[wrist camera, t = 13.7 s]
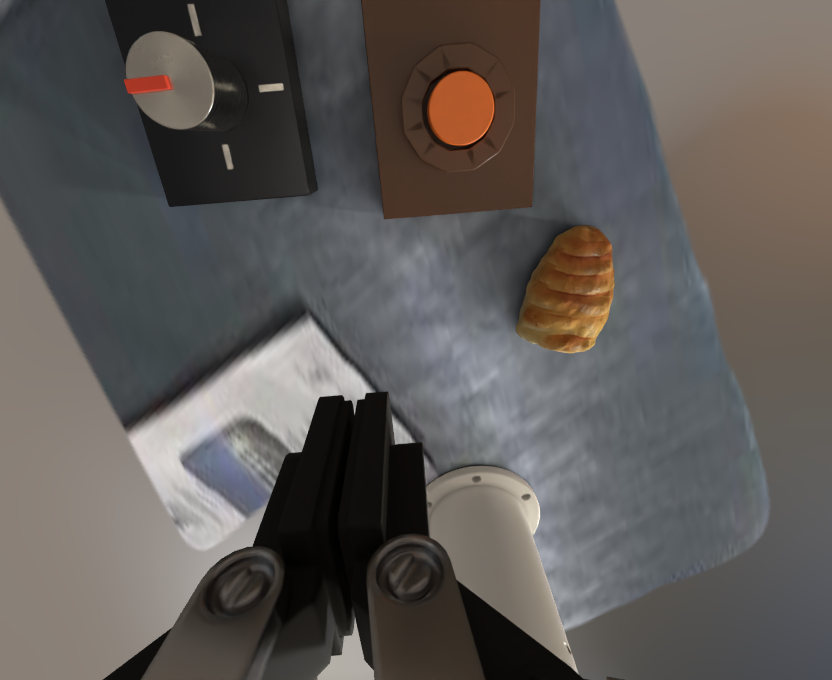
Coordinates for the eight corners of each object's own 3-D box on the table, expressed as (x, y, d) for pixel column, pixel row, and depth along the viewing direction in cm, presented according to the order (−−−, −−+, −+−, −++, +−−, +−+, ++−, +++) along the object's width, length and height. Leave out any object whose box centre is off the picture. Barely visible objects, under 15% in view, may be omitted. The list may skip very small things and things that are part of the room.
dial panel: (318, 190, 30) (309, 195, 27) (189, 200, 30) (167, 207, 27) (282, -28, 25) (266, -50, 22) (127, -15, 25) (92, -35, 22)
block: (523, 202, 31) (540, 211, 27) (385, 214, 31) (383, 224, 27) (530, -6, 26) (551, -30, 22) (363, 8, 26) (357, -14, 22)
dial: (237, 47, 24) (195, 24, 19) (256, 127, 25) (222, 124, 21) (166, 55, 24) (106, 34, 19) (189, 135, 25) (140, 134, 21)
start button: (488, 142, 26) (494, 142, 24) (428, 147, 26) (430, 148, 24) (488, 72, 24) (494, 67, 22) (424, 77, 24) (426, 73, 23)
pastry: (536, 217, 31) (553, 227, 28) (624, 227, 32) (652, 238, 28) (509, 334, 35) (522, 355, 32) (588, 341, 36) (609, 363, 32)
